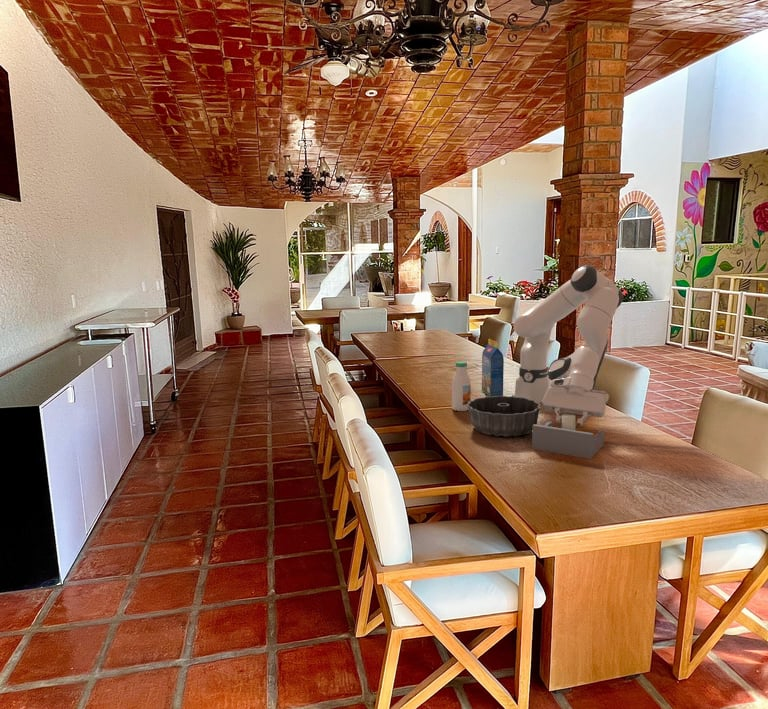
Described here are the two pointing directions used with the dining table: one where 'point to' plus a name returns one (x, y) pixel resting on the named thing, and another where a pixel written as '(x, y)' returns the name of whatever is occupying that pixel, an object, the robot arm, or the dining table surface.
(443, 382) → the dining table surface
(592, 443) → the grey open tray
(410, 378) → the dining table surface
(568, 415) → the dome-topped cream cylinder
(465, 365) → the milk bottle
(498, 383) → the blue food package
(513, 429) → the bundt pan
